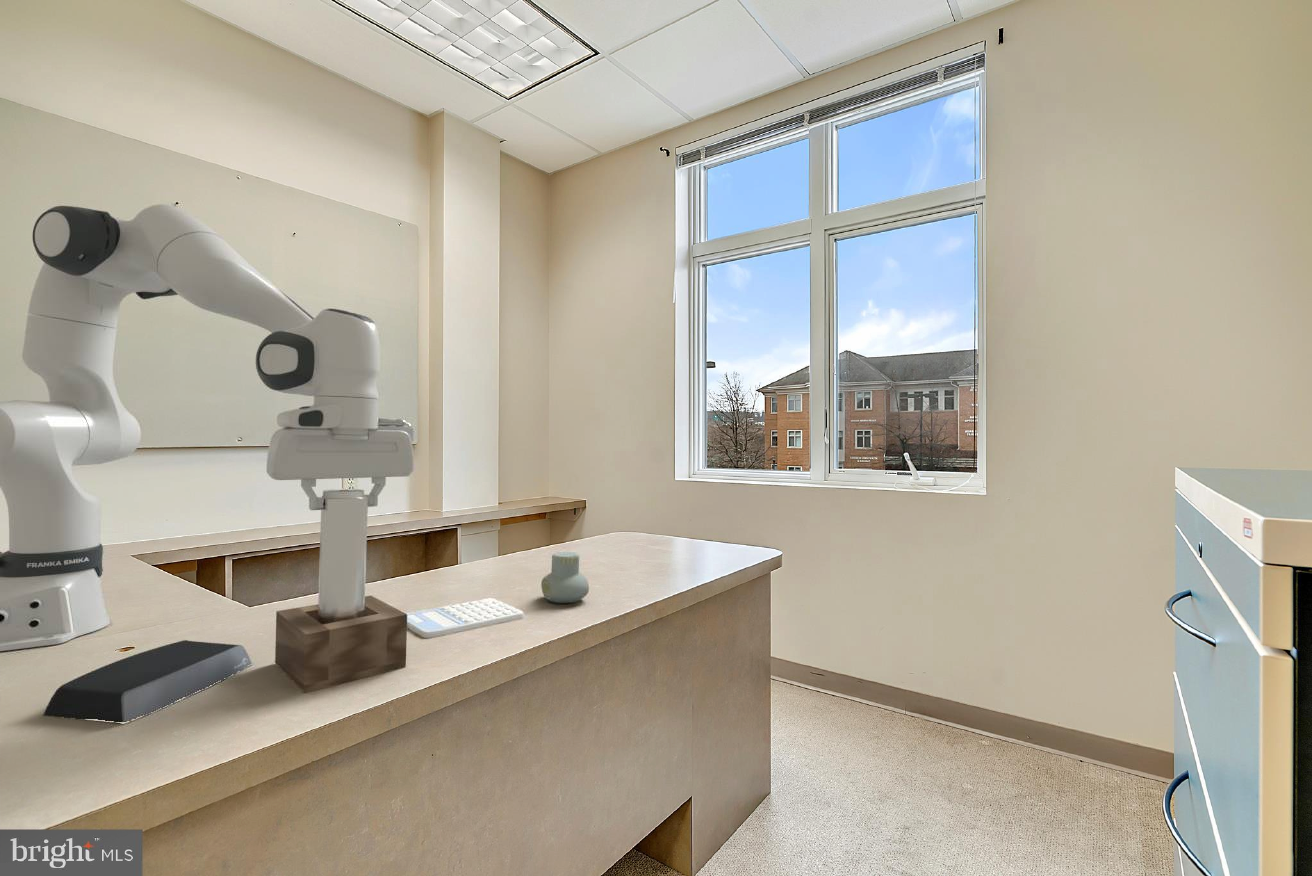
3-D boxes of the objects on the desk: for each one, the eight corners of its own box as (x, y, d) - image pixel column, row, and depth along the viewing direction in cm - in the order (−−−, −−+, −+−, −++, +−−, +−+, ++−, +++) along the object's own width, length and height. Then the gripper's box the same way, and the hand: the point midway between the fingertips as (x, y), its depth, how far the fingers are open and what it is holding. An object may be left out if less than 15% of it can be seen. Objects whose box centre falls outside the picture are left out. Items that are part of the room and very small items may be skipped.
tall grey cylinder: (350, 661, 90) (355, 492, 90) (306, 659, 90) (311, 490, 90) (371, 646, 96) (376, 488, 96) (331, 644, 96) (335, 486, 96)
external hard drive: (257, 668, 92) (257, 641, 92) (128, 729, 73) (129, 695, 73) (181, 660, 94) (182, 634, 94) (37, 718, 75) (37, 685, 75)
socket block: (304, 692, 83) (305, 634, 83) (275, 663, 93) (276, 611, 93) (405, 666, 93) (407, 614, 93) (369, 642, 103) (371, 595, 103)
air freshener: (538, 595, 135) (539, 550, 135) (573, 592, 139) (574, 548, 139) (554, 609, 126) (555, 560, 126) (591, 604, 130) (593, 557, 130)
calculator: (525, 620, 119) (526, 610, 119) (425, 642, 106) (425, 631, 106) (492, 604, 129) (492, 595, 129) (396, 623, 115) (396, 613, 115)
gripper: (405, 419, 102) (402, 501, 103) (264, 414, 88) (262, 510, 88) (422, 420, 98) (419, 505, 98) (277, 414, 83) (274, 515, 83)
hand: (344, 508), depth 93 cm, fingers closed on tall grey cylinder, 6 cm apart
